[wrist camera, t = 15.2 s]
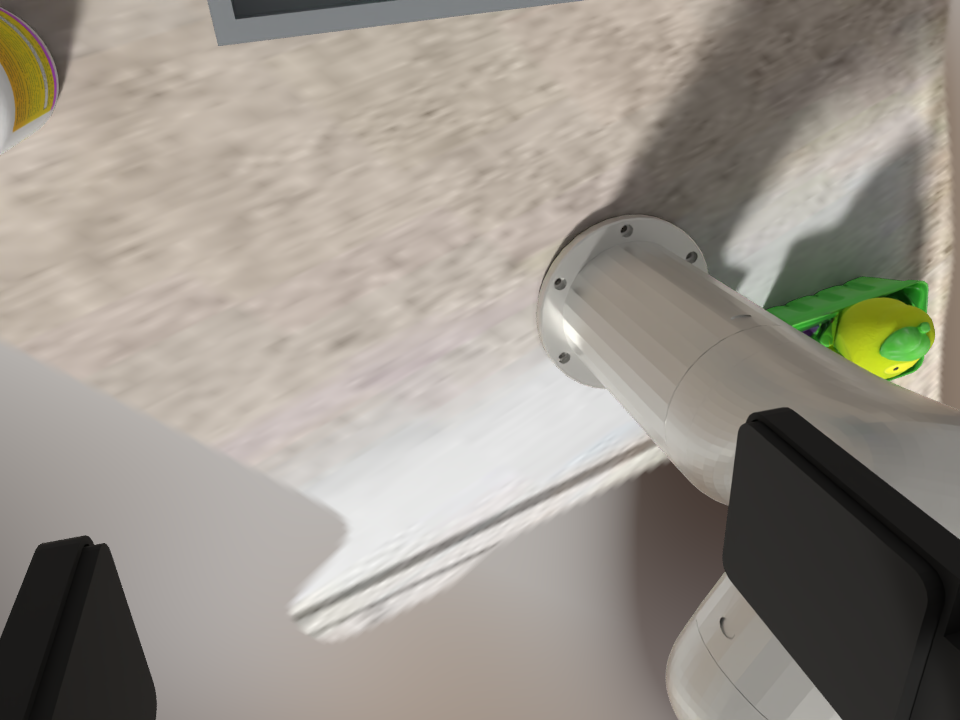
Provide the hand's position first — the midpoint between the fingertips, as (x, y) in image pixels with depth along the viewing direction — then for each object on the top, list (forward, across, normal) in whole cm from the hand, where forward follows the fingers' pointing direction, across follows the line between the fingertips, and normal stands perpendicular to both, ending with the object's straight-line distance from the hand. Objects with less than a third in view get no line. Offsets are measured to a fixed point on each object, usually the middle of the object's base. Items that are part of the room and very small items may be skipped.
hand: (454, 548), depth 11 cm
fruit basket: (+38, -36, +16) cm, 54 cm away
